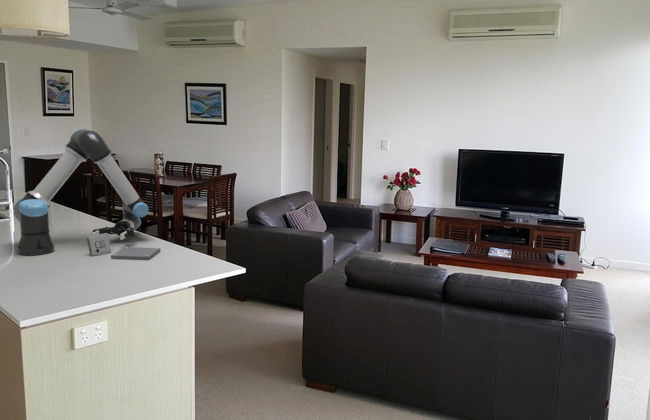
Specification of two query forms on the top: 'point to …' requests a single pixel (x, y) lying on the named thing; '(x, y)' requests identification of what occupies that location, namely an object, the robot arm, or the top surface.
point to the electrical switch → (99, 244)
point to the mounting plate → (135, 253)
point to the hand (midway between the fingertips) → (106, 236)
